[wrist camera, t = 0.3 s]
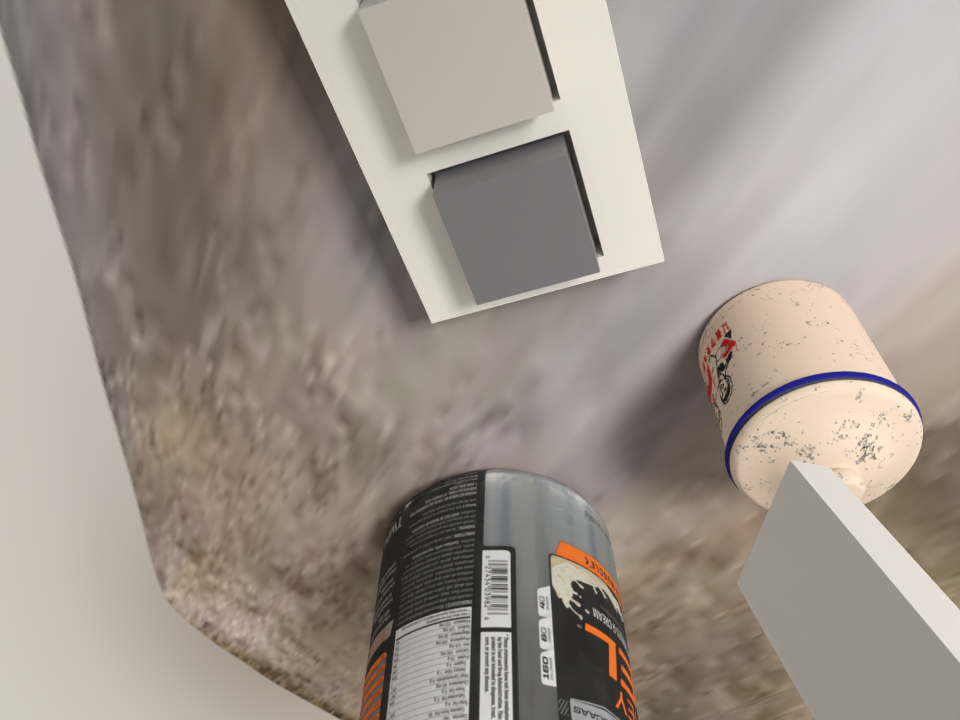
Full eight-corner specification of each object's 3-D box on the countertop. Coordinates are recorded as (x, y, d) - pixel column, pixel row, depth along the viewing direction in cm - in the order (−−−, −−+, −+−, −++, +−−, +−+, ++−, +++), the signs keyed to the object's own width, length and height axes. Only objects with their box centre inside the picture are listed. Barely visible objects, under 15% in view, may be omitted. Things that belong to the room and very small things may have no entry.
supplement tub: (623, 591, 60) (688, 1037, 39) (418, 615, 62) (379, 1047, 42) (597, 440, 50) (664, 923, 30) (356, 474, 52) (266, 945, 32)
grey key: (509, -61, 31) (510, -44, 29) (550, 85, 35) (554, 110, 32) (367, -10, 33) (357, 11, 30) (421, 126, 36) (415, 154, 34)
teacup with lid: (679, 297, 44) (728, 448, 34) (855, 253, 42) (956, 400, 33) (711, 449, 51) (759, 608, 41) (863, 417, 49) (948, 576, 40)
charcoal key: (562, 127, 36) (566, 155, 34) (594, 239, 39) (600, 271, 37) (437, 166, 37) (432, 196, 35) (478, 271, 41) (477, 305, 38)
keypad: (509, -407, 27) (510, -420, 24) (655, 230, 41) (664, 261, 39) (193, -261, 29) (166, -260, 27) (435, 291, 44) (431, 323, 41)
